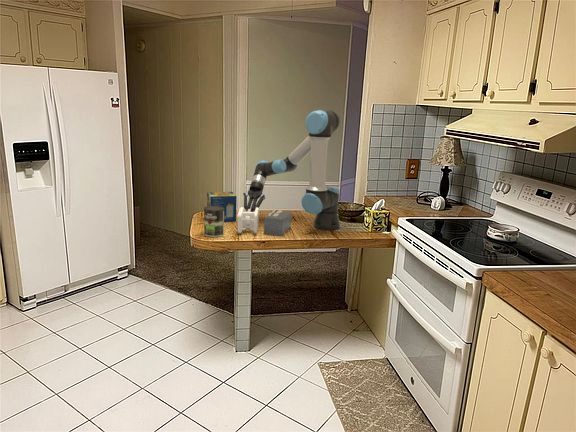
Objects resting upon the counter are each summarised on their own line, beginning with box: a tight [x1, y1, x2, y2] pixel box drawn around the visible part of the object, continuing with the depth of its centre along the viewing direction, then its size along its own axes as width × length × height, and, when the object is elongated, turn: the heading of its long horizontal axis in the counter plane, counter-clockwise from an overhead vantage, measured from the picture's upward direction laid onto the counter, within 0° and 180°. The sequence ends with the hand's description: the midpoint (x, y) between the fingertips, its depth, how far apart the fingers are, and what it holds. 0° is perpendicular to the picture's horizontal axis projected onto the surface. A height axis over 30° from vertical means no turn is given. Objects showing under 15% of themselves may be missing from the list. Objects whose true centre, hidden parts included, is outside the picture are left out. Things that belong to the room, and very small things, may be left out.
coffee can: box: [203, 205, 225, 238], centre depth 227 cm, size 10×10×14 cm
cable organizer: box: [236, 206, 260, 234], centre depth 234 cm, size 15×11×12 cm
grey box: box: [263, 209, 292, 237], centre depth 239 cm, size 10×18×10 cm, turn 166°
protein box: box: [206, 191, 238, 223], centre depth 254 cm, size 10×15×16 cm
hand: (247, 220), depth 239 cm, fingers closed
